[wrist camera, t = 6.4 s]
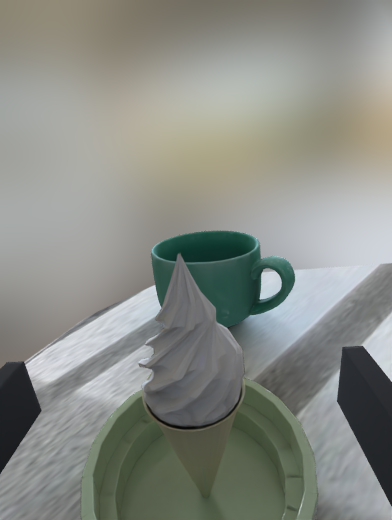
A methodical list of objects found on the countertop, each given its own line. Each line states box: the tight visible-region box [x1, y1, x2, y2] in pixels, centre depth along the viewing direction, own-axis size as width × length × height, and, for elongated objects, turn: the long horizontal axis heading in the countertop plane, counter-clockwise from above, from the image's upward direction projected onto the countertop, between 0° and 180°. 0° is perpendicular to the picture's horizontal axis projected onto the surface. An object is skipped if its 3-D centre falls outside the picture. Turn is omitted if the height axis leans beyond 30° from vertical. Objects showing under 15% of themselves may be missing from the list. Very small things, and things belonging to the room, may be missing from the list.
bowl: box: [81, 378, 318, 520], centre depth 17 cm, size 12×12×4 cm
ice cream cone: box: [138, 253, 245, 498], centre depth 14 cm, size 5×5×15 cm
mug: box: [151, 231, 295, 327], centre depth 34 cm, size 17×13×10 cm
